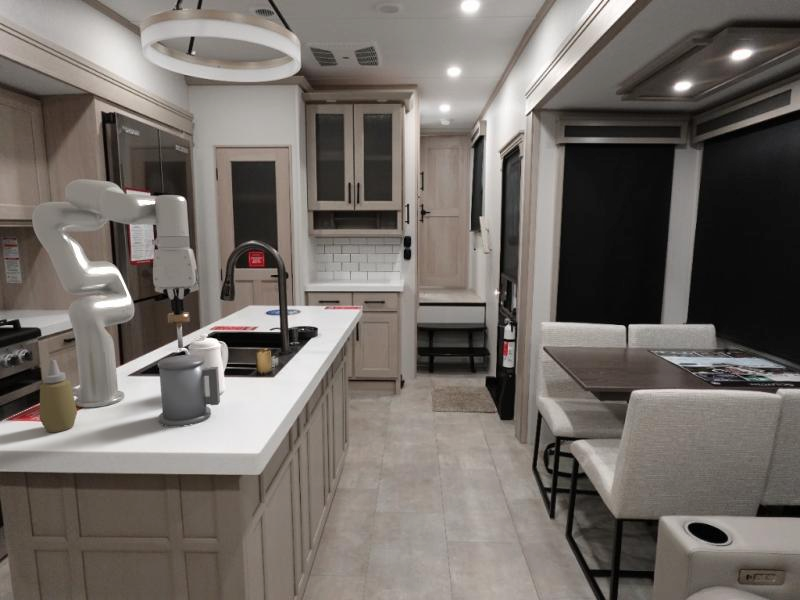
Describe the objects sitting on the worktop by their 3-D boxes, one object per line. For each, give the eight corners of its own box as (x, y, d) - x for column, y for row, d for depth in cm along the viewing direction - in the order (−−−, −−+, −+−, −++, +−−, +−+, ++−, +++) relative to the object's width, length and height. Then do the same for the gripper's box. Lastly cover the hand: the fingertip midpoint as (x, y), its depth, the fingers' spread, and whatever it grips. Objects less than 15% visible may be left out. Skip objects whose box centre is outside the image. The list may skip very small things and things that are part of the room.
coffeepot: (164, 406, 145) (160, 342, 142) (213, 380, 169) (210, 326, 166) (198, 408, 143) (194, 344, 140) (242, 382, 167) (240, 327, 164)
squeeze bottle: (37, 436, 124) (29, 366, 121) (45, 425, 131) (37, 358, 128) (75, 431, 127) (68, 362, 124) (81, 420, 134) (74, 355, 132)
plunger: (167, 350, 130) (164, 315, 129) (173, 345, 135) (171, 312, 134) (188, 349, 131) (186, 314, 130) (193, 345, 136) (191, 311, 135)
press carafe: (151, 428, 129) (147, 367, 126) (167, 410, 141) (163, 355, 139) (214, 424, 131) (211, 365, 129) (224, 407, 144) (221, 353, 141)
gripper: (137, 244, 125) (143, 317, 127) (200, 243, 127) (205, 315, 129) (148, 243, 132) (153, 312, 135) (207, 243, 134) (211, 310, 137)
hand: (178, 313), depth 132 cm, fingers closed
